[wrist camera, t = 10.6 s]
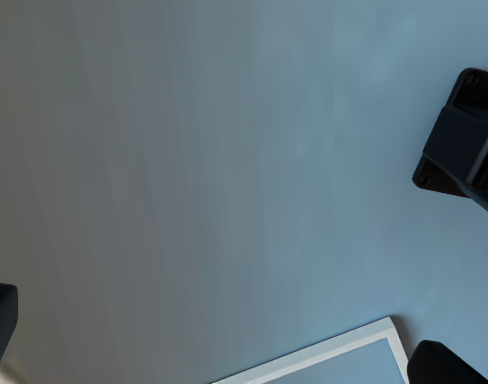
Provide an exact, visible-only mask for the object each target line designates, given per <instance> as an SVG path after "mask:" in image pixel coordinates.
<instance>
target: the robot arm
mask: <svg viewBox="0 0 488 384" xmlns="http://www.w3.org/2000/svg"><path fill="white" fill-rule="evenodd" d="M470 75H473V79H472V80H471V82H469V83H468V82H467V80H468V77H469V76H470ZM424 176H426V178H425V179H424V180H423V181H420V179H421V178H422V177H424ZM412 180H413V183H414V184H415V185H416V186H417V187H419V188H421V189H426V190H431V191H436V192H441V193H446V194H451V195H456V196H461V197H466V198H471V199H472V200H474V201H475V202H476V203H478V204H479V205H480V206H481V207H483V208H484V209H485V210H486V211H488V72H486V71H482V70H479V69H475V68H467V69H464V70H463V71H462V72H461V73H460V75H459V77H458V79H457V81H456V83H455V85H454V87H453V90H452V92H451V94H450V96H449V98H448V101H447V103H446V105H445V107H443V108H442V110H441V112H440V114H439V116H438V119H437V121H436V123H435V125H434V127H433V130H432V132H431V134H430V136H429V138H428V141H427V143H426V145H425V147H424V149H423V155H422V157H421V159H420V162H419V164H418V166H417V168H416V170H415V172H414V175H413V178H412ZM17 320H18V290H17V287H16V286H15V285H11V284H4V283H0V361H1V359H2V356H3V354H4V352H5V350H6V347H7V345H8V343H9V341H10V338H11V336H12V334H13V332H14V329H15V327H16V324H17ZM407 376H408V380H409V384H488V380H487V379H486V378H485V377H483V376H482V375H481V374H480V373H478V372H477V371H476V370H475V369H473V368H472V367H471V366H470V365H468V364H467V363H466V362H465V361H463V360H462V359H461V358H460V357H458V356H457V355H456V354H455V353H453V352H452V351H451V350H450V349H448V348H447V347H446V346H445V345H443V344H442V343H440V342H437V341H430V340H423V341H421V342H420V343H419V344H418V346H417V348H416V349H415V351H414V353H413V355H412V356H411V358H410V360H409V362H408V364H407Z"/></svg>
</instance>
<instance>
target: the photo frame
mask: <svg viewBox="0 0 488 384" xmlns="http://www.w3.org/2000/svg"><path fill="white" fill-rule="evenodd" d="M386 337H387V339H388V342H389V344H390V347H391V349H392V352H393V354H394V356H395V359H396V361H397V364H398V366H399V369H400V371H401V373H402V376H403V378H404V381H405V383H406V384H409V380H408V376H407V364H408V359H407V357H406V354H405V352H404V349H403V346H402V344H401V341H400V339H399V336H398V334H397V331H396V329H395V326H394V324H393V323H392V321H391V319H390V317H386V318H384V319H381V320H378V321H376V322H373V323H370V324H368V325H365V326H363V327H360V328H357V329H355V330H352V331H349V332H347V333H344V334H341V335H339V336H336V337H334V338H331V339H328V340H326V341H323V342H320V343H318V344H315V345H312V346H310V347H307V348H305V349H302V350H299V351H297V352H294V353H291V354H289V355H286V356H283V357H281V358H278V359H275V360H273V361H270V362H268V363H265V364H262V365H260V366H257V367H254V368H252V369H249V370H246V371H244V372H241V373H239V374H236V375H233V376H231V377H228V378H225V379H223V380H220V381H217V382H215V383H212V384H262V383H265V382H267V381H270V380H273V379H276V378H278V377H281V376H284V375H286V374H289V373H292V372H294V371H297V370H300V369H302V368H305V367H308V366H310V365H313V364H316V363H319V362H321V361H324V360H327V359H329V358H332V357H335V356H337V355H340V354H343V353H345V352H348V351H351V350H353V349H356V348H359V347H362V346H364V345H367V344H370V343H372V342H375V341H378V340H380V339H383V338H386Z"/></svg>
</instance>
